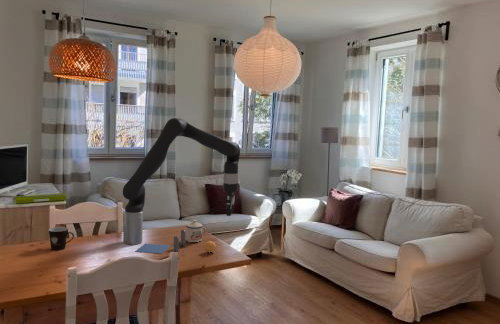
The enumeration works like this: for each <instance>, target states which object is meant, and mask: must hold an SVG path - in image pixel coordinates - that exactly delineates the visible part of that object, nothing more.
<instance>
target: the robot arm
mask: <svg viewBox="0 0 500 324" xmlns="http://www.w3.org/2000/svg"><path fill="white" fill-rule="evenodd" d="M177 137H184V138H188V139H191V140H194V141H195V142H197V143H198V144H200V145H202V146H204V147H206V148H209V149H211V150H213V151H216V152H217V153H220V154H221V155H224V156H226V161H225V162H224V165H223V177H222V178H223V179H222V180H223V181H222V182H223V184H222V185H223V186H222V190H223V192H224V193H227V194H226V195H225V209H226V216H227V217H231V216H232V213H234V207H235V206H234V205H235V198H236V194H235V193H237V192H239V162H240V161H239V160H240V156H241V148H240V145H239V144H238V143H237V142H234V141H232V142H230V141H228V140H224V139H223V138H222V137H220V136H218V135H215V134H213V133H210V132H207V131H204V130H202V129H199V128H197V127H195V126H194V125H192V124H190V123H189V122H187V121H185V119H182V118H176V117H172V118H170V119H169V120H167V122H165V124H164V126H163V128H162V130H161V132H160V134H159V136H158V138H157V139H156V141H155V142H154V144H153V145H152V146H151V148H150V150H148V152H147V154H146V155H145V156H144V158H143V160H142V161H141V163H140V164H139V166H138V168H137V169H136V171H135V172H134V173H133V175H132V176H131V177H130V179H129V180H127V182H126V183H125V184H124V186H123V187H122V196H123V197H124V198H125V200H128V202H127V204H126V205H125V208H124V225H123V227H122V229H123V230H122V231H123V233H122V243H123V244H126V245H139V244H142V243H143V229H144V228H143V226H144V225H143V221H144V219H143V217H144V216H143V215H144V212H143V211H144V206H145V201H146V188H145V185H144V184H145V183H146V182H147V180H148V179H150V178H151V177H152V176H153V175H154V174H155V173H157V171H158V170H159V169H160V167H161V166H162V165H163V164H164V161H165V160H166V158H167V155H168V151H169V148H170V146H171V144H172V143H173V142H174V140H175V139H177Z"/></svg>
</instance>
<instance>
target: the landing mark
mask: <svg viewBox="0 0 500 324" xmlns="http://www.w3.org/2000/svg"><path fill="white" fill-rule="evenodd" d="M170 247H171V245H170V244H156V243H146V242H145V243H144V244H142V245H141V246H140V247H138V248H137V249H136V250H135V251H134V252H136V253H149V254H160V255H161V254H162V255H163V253H165V251H166V250H168V249H169V248H170Z"/></svg>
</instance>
